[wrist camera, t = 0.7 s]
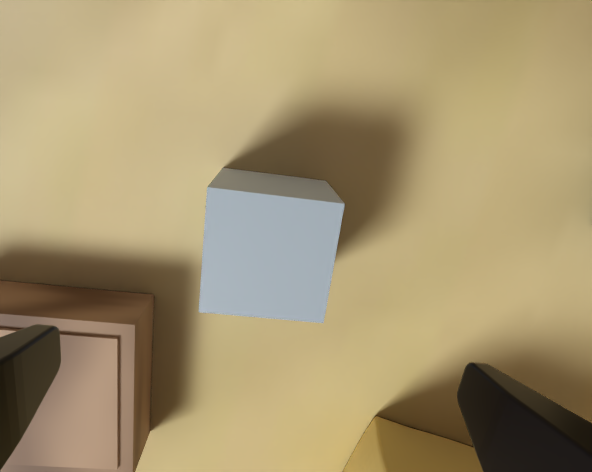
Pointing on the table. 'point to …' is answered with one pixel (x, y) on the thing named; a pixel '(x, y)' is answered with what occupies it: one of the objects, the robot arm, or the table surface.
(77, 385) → the pedestal
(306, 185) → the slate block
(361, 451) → the cheese
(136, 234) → the table surface
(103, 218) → the table surface
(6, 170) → the table surface
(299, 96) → the table surface
